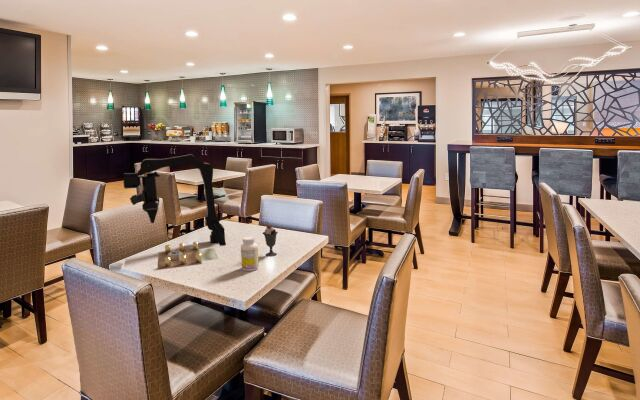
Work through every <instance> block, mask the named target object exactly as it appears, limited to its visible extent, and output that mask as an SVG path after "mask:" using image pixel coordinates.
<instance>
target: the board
mask: <svg viewBox="0 0 640 400" xmlns="http://www.w3.org/2000/svg"><path fill="white" fill-rule="evenodd" d="M173 251H180V249H174V250H173ZM197 253H201V260H202V262H201V263H196V254H197ZM182 255H186V263H187V264H185V265H181V259H180V260H173V261H172V260H171V266H170V267H165V257H168V254H166V253H165V251H159V252H158V257H157V271H159V270H161V271H162V270H168V269H175V268H183V267H190V266H197V265H203V262H204V261H206V262H207V261H212V260H218V259H219V257H218V254H217V252H216V249H215V248H214V247H212V248H205V249H199V250H194V249H193V247H191V248H185V251H184V252H182Z"/></svg>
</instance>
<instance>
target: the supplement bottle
mask: <svg viewBox="0 0 640 400" xmlns="http://www.w3.org/2000/svg"><path fill="white" fill-rule="evenodd" d="M255 240H256V239H255V236H250V235H249V236H245V237H244V236H243V237H242V242H243V243H242V244H241V245H240V254H241V255H240V257H241V259H240V260H241V269H242V270H243V271H246V272H254V271H256V270H257V269H259V268H260V267H259V264H260V263H259V250H258V249H259V248H258V244H257V243H256V242H255Z"/></svg>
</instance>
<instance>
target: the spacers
mask: <svg viewBox="0 0 640 400" xmlns="http://www.w3.org/2000/svg"><path fill="white" fill-rule="evenodd" d="M178 246H179V248H178V250H180V251H181V252H184V251H185V249H186V248H185V243H184V242H181V243H179V244H178ZM192 246H193V247H192V248H193V249H194V250H200V249H199V241H193V242H192ZM171 251H172V250H171V244H166V245H164V252H165V253H166V254H168V253H170V252H171ZM180 259H181V265H185V264H187V263H186V255H181V256H180ZM201 262H202V263H203V261H202V260H201V253H197V254H196V263H201ZM170 266H171V259H170V257H165V267H170Z"/></svg>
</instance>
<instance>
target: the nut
mask: <svg viewBox="0 0 640 400" xmlns="http://www.w3.org/2000/svg"><path fill="white" fill-rule="evenodd" d="M181 255H182V252H181V251H174V250H171V252H170V253H168V257H170V259H171V260H172V261H173V260H180V256H181Z"/></svg>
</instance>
